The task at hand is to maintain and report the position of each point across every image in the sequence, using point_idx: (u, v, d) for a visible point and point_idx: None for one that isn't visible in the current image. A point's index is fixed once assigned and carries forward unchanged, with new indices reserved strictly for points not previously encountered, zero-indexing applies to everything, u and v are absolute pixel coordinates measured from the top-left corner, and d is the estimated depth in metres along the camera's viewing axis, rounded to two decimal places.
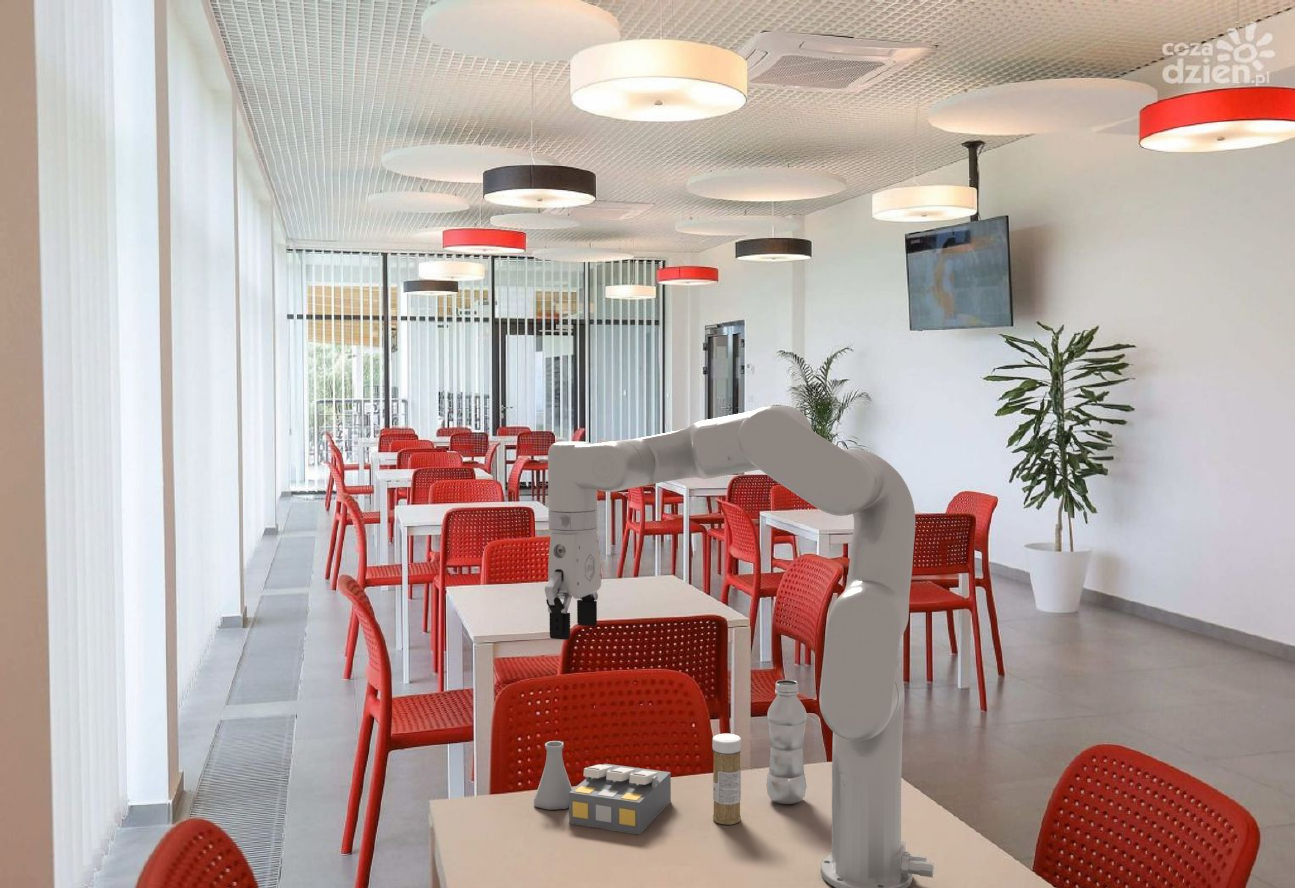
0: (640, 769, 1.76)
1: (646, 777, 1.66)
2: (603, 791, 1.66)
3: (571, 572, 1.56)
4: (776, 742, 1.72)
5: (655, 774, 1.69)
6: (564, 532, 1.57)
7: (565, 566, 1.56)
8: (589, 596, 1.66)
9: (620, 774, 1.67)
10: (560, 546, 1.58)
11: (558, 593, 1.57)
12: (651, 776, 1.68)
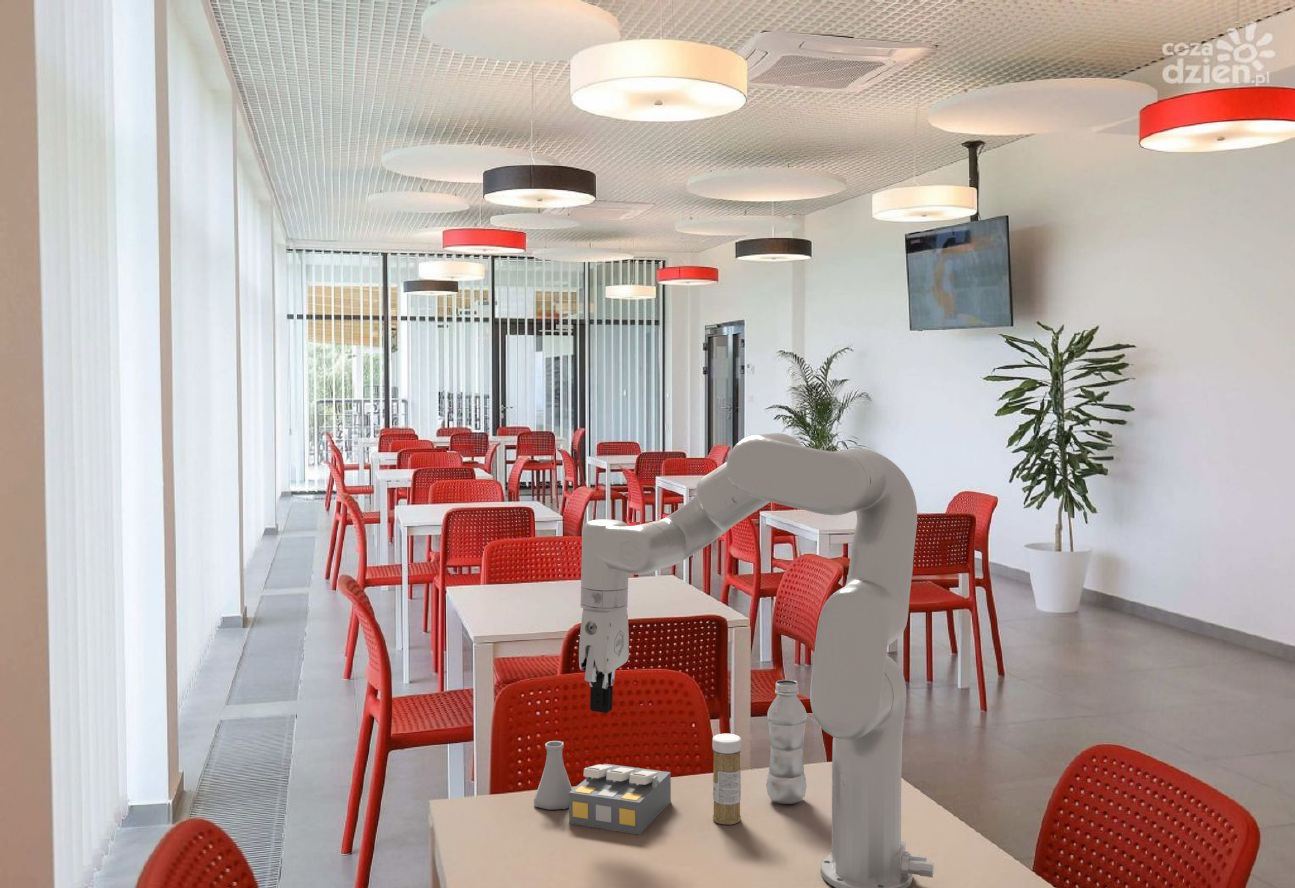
0: (640, 769, 1.76)
1: (646, 777, 1.66)
2: (603, 791, 1.66)
3: (601, 649, 1.62)
4: (776, 742, 1.72)
5: (655, 774, 1.69)
6: (596, 609, 1.63)
7: (596, 643, 1.62)
8: None
9: (620, 774, 1.67)
10: (591, 622, 1.64)
11: None
12: (651, 776, 1.68)
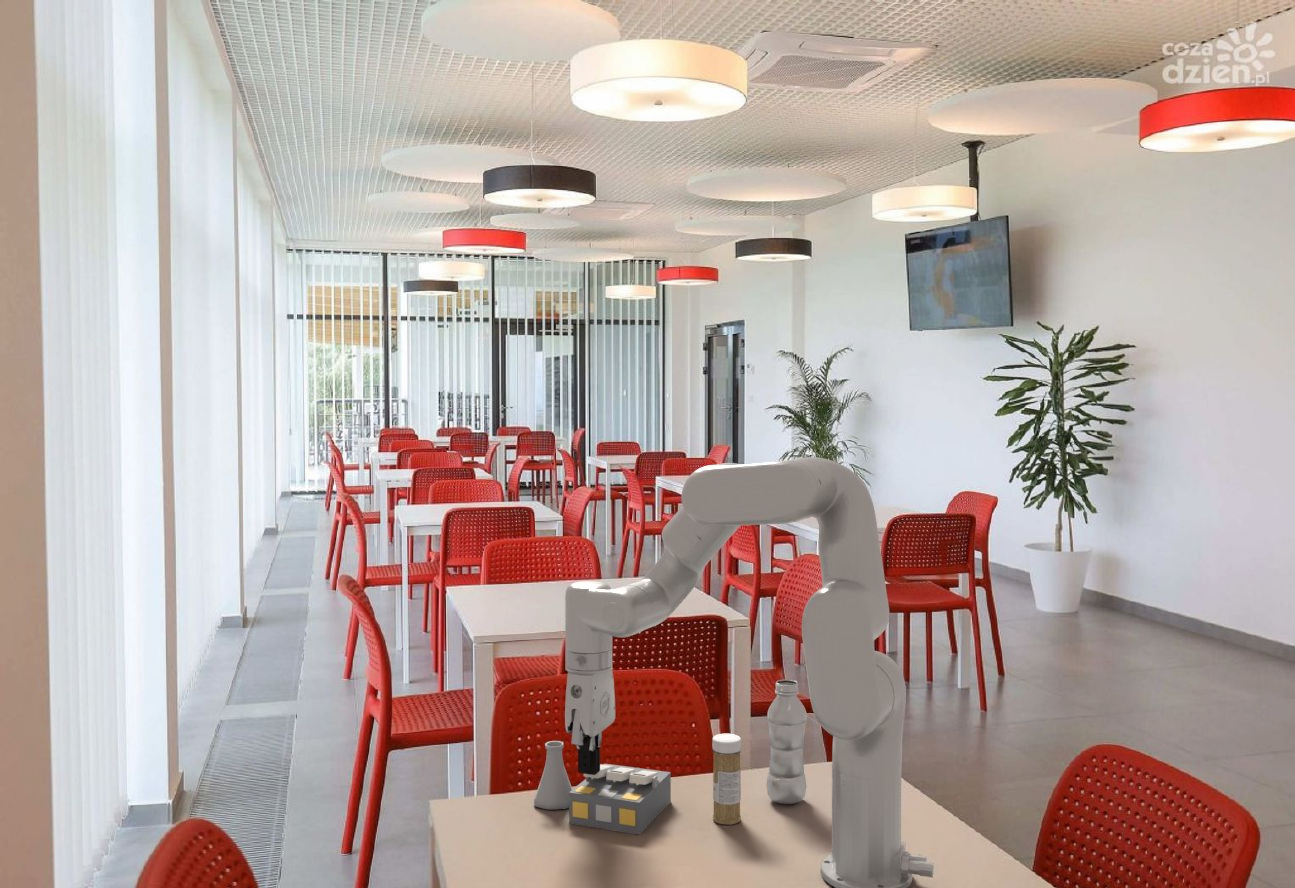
0: (640, 769, 1.76)
1: (646, 777, 1.66)
2: (603, 791, 1.66)
3: (587, 712, 1.62)
4: (776, 742, 1.72)
5: (655, 774, 1.69)
6: (581, 672, 1.64)
7: (582, 706, 1.63)
8: None
9: (620, 774, 1.67)
10: (577, 686, 1.64)
11: None
12: (651, 776, 1.68)
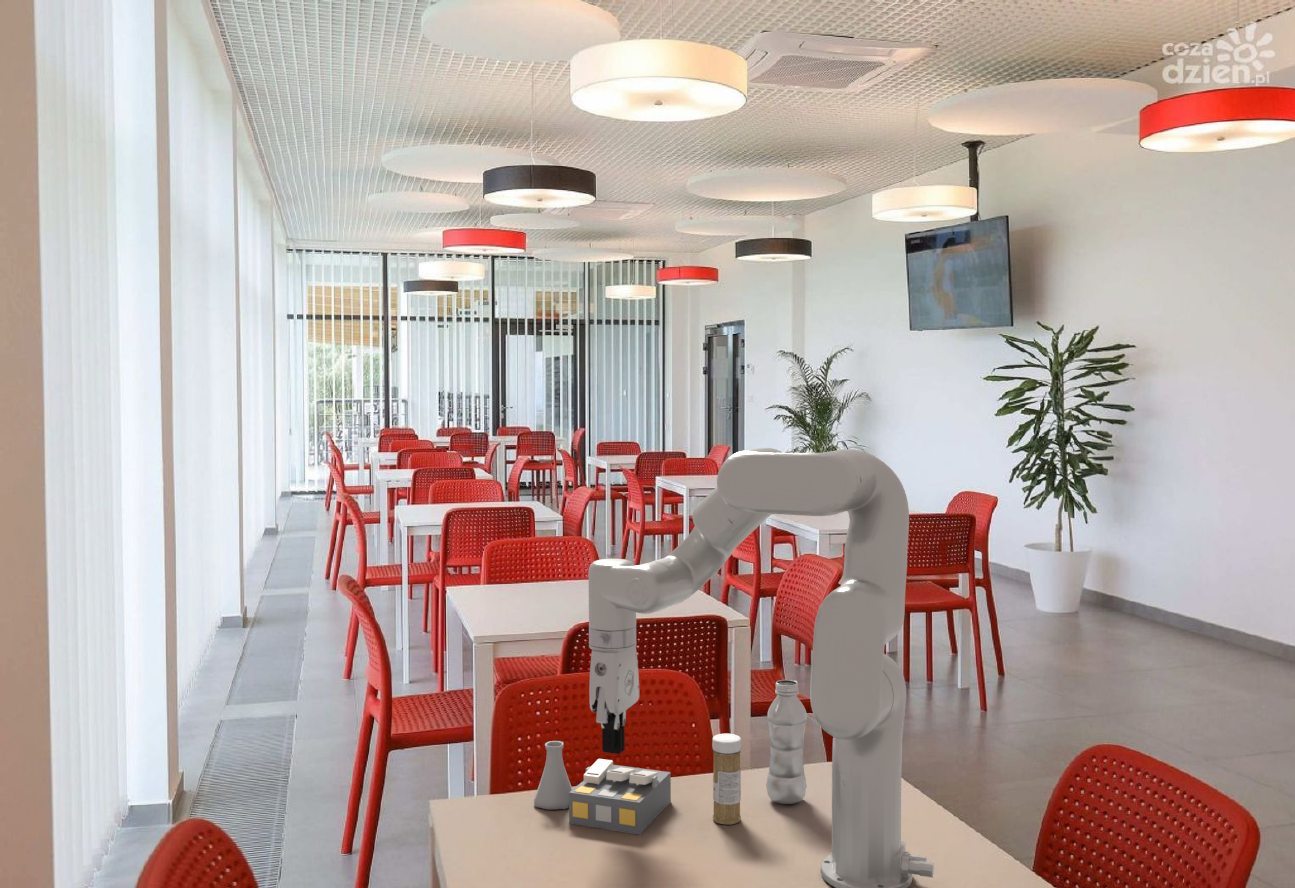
0: (640, 769, 1.76)
1: (646, 777, 1.66)
2: (603, 791, 1.66)
3: (612, 690, 1.61)
4: (776, 742, 1.72)
5: (655, 774, 1.69)
6: (605, 650, 1.62)
7: (606, 684, 1.61)
8: None
9: (620, 774, 1.67)
10: (601, 663, 1.63)
11: None
12: (651, 776, 1.68)
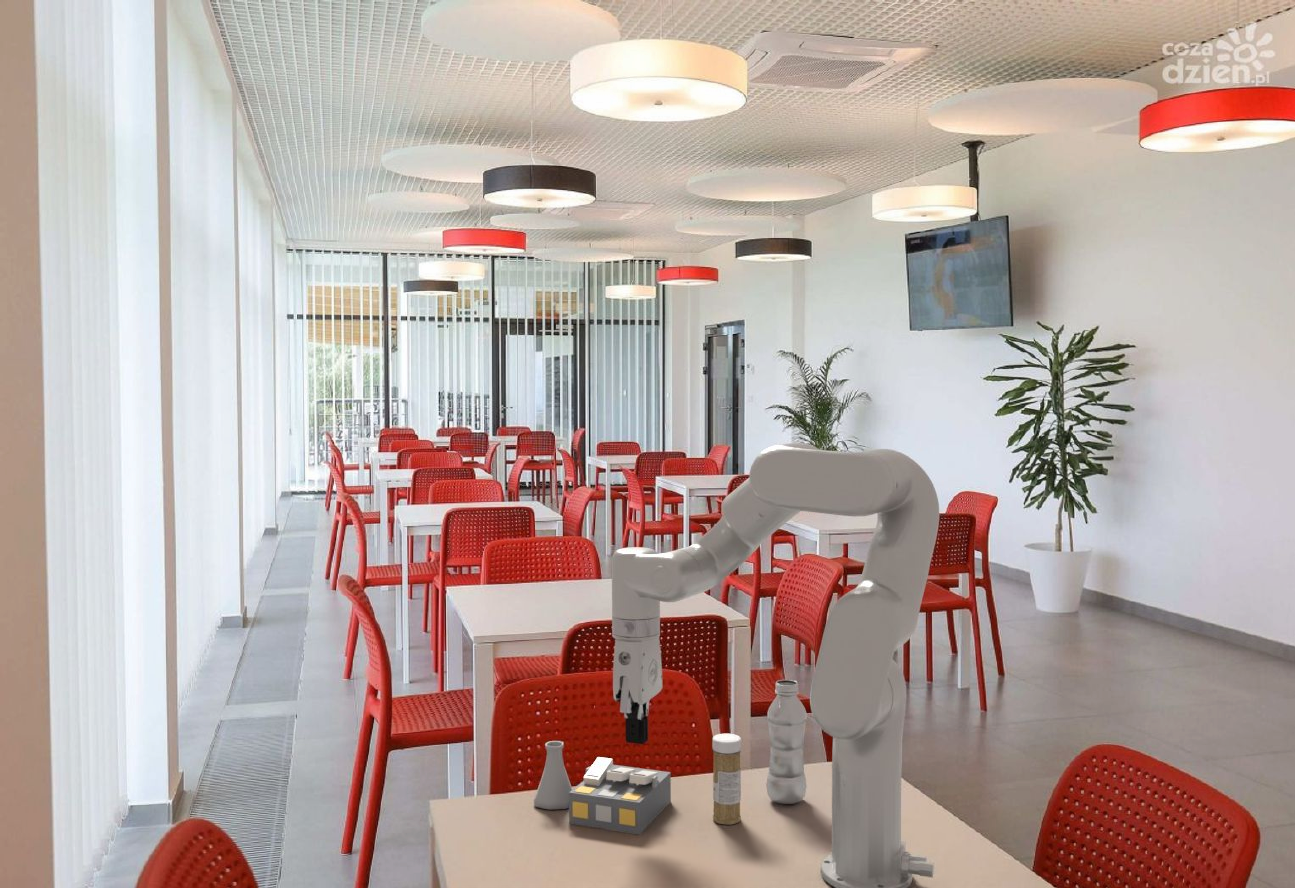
0: (640, 769, 1.76)
1: (646, 777, 1.66)
2: (603, 791, 1.66)
3: (636, 679, 1.59)
4: (776, 742, 1.72)
5: (655, 774, 1.69)
6: (629, 639, 1.61)
7: (630, 673, 1.60)
8: None
9: (620, 774, 1.67)
10: (625, 653, 1.61)
11: None
12: (651, 776, 1.68)
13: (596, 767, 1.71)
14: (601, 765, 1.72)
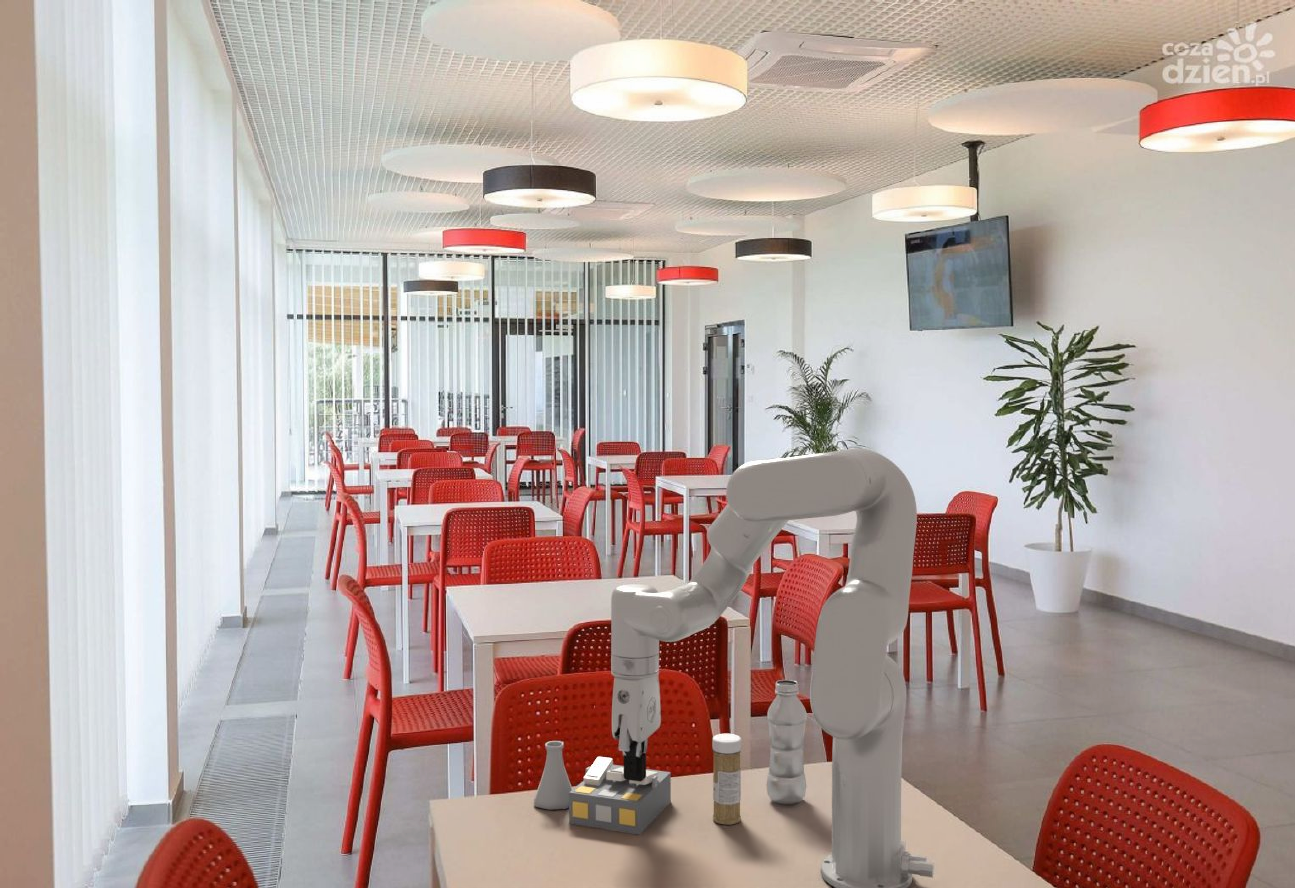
0: None
1: (646, 777, 1.66)
2: (603, 791, 1.66)
3: (635, 718, 1.60)
4: (776, 742, 1.72)
5: (655, 774, 1.69)
6: (628, 677, 1.61)
7: (629, 712, 1.60)
8: None
9: (620, 774, 1.67)
10: (624, 691, 1.61)
11: None
12: (651, 776, 1.68)
13: (596, 767, 1.71)
14: (601, 765, 1.72)
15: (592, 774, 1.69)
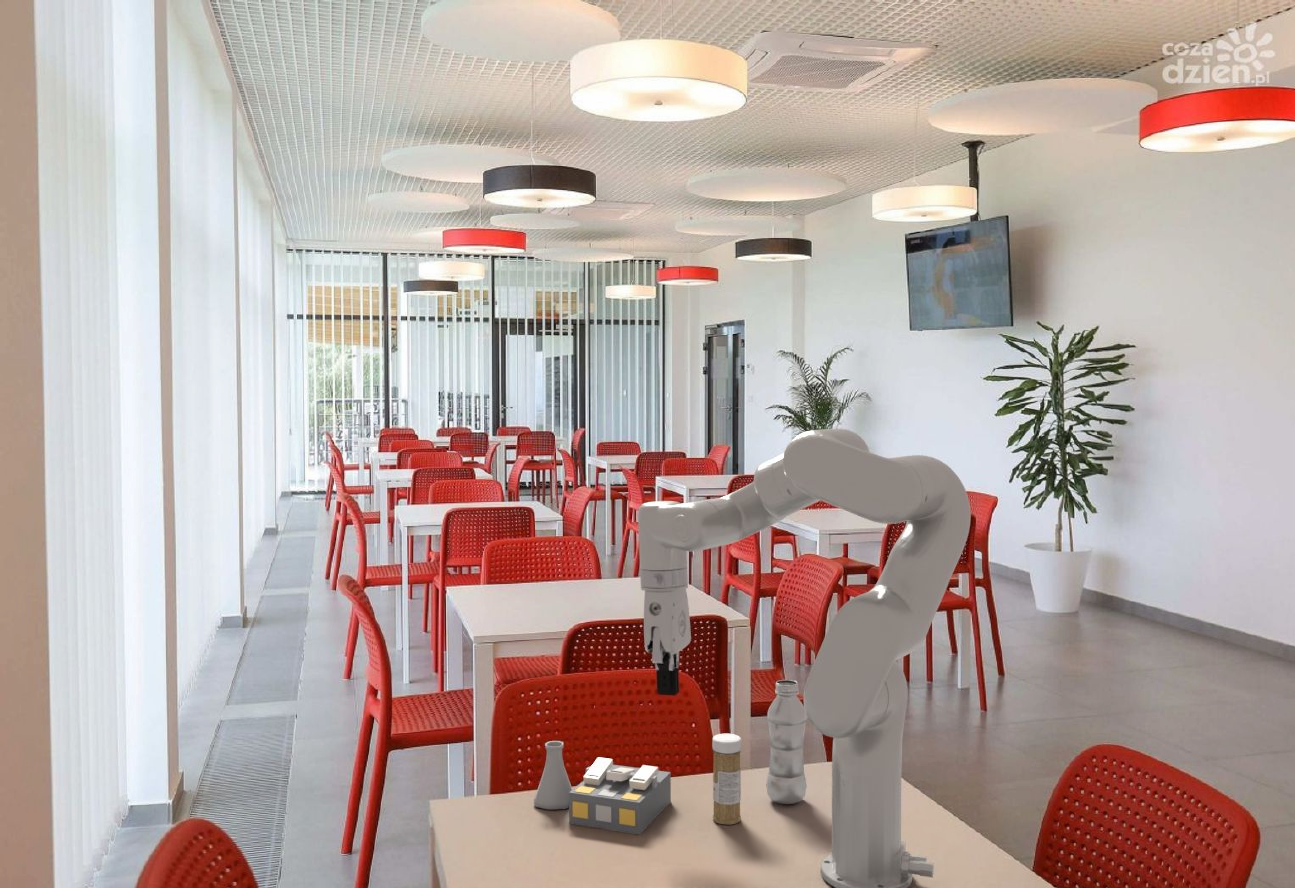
0: None
1: (646, 782, 1.66)
2: (603, 791, 1.66)
3: (667, 629, 1.61)
4: (776, 742, 1.72)
5: (655, 771, 1.69)
6: (658, 590, 1.63)
7: (661, 623, 1.61)
8: None
9: (620, 774, 1.67)
10: (655, 604, 1.63)
11: None
12: (651, 776, 1.68)
13: (596, 767, 1.71)
14: (601, 765, 1.72)
15: (592, 773, 1.69)
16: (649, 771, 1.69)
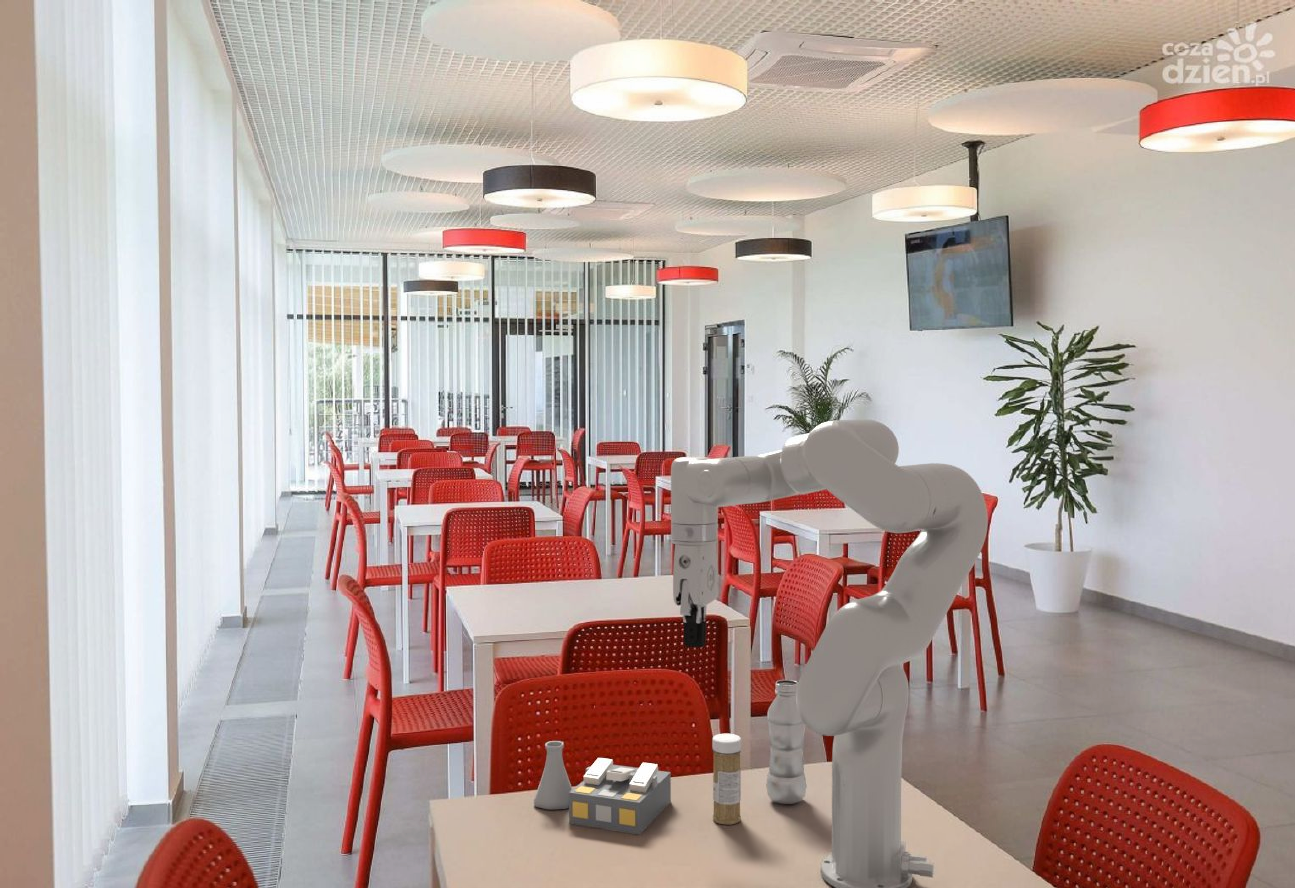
0: None
1: (646, 784, 1.66)
2: (603, 791, 1.66)
3: (696, 582, 1.64)
4: (776, 742, 1.72)
5: (655, 770, 1.69)
6: (688, 543, 1.65)
7: (690, 576, 1.64)
8: None
9: (620, 774, 1.67)
10: (684, 557, 1.65)
11: None
12: (651, 776, 1.68)
13: (596, 767, 1.71)
14: (601, 765, 1.72)
15: (592, 773, 1.69)
16: (649, 770, 1.69)
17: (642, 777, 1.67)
